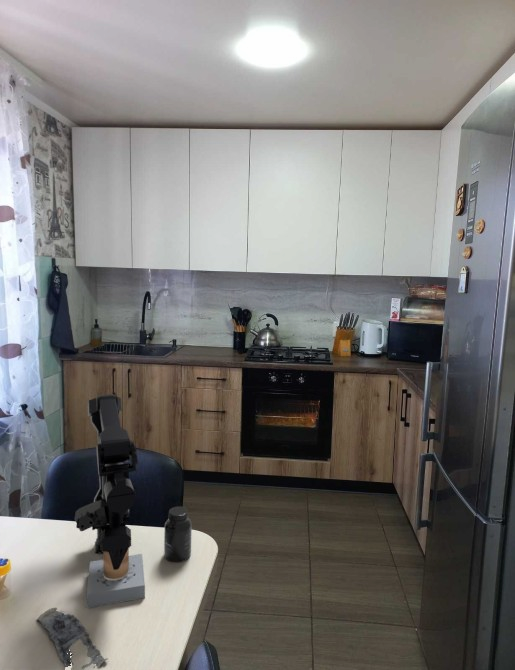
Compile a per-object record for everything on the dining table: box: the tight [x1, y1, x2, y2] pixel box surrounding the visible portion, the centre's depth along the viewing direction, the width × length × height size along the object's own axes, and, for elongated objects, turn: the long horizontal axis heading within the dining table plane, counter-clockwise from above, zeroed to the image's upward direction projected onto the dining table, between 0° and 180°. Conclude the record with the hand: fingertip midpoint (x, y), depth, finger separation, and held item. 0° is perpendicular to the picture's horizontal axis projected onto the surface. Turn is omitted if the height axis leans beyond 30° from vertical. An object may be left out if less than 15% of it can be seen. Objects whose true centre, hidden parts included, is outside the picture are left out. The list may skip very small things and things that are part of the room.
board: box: [86, 553, 146, 609], centre depth 103 cm, size 12×12×3 cm
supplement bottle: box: [163, 506, 193, 563], centre depth 115 cm, size 7×7×12 cm
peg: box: [102, 548, 130, 581], centre depth 103 cm, size 6×6×10 cm
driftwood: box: [36, 607, 109, 669], centre depth 88 cm, size 21×7×2 cm, turn 42°
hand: (116, 556), depth 102 cm, fingers open, 9 cm apart
